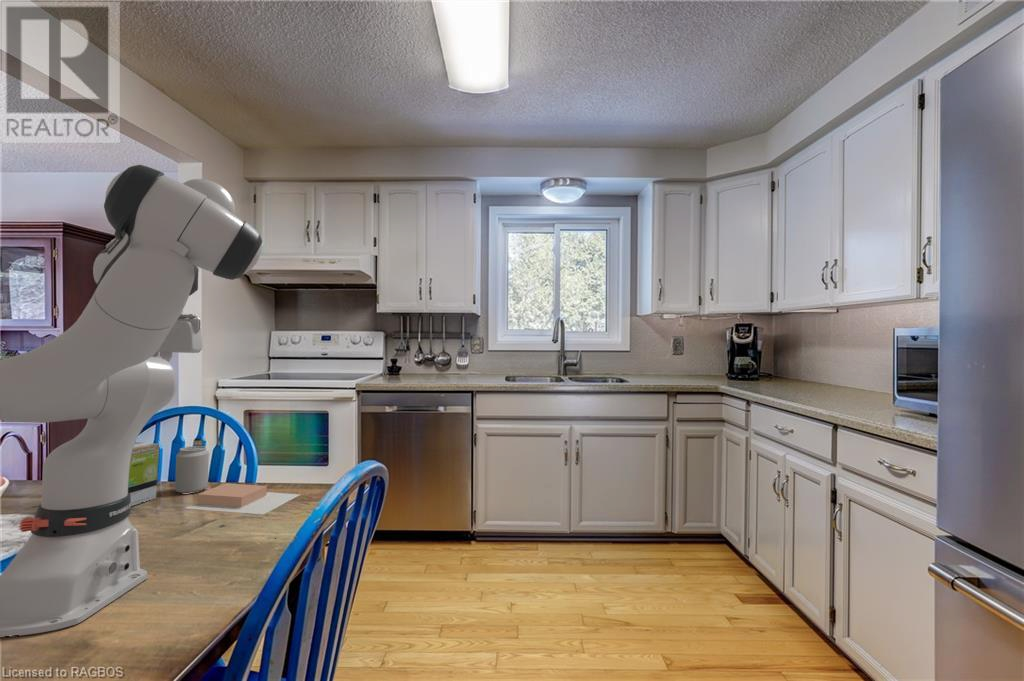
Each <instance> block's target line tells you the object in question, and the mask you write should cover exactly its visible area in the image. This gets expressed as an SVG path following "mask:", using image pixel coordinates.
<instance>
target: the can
mask: <svg viewBox="0 0 1024 681" xmlns="http://www.w3.org/2000/svg"><path fill="white" fill-rule="evenodd" d="M209 456H210V453H209V451H208V450H207V446H203V445H192V446H191V445H190V446H185V447H180V448H179V452H178V453H176V456H175V459H176V460H175V478H174V479H175V481H174V484H175V486H174V490H175V492H177V493H178V492H179V493H178V494H180V493H190V492H197V491H201V490H203V489H204V490H206V488H208V484H209V459H210V457H209ZM204 490H203V491H204ZM201 492H202V491H201Z"/></svg>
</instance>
